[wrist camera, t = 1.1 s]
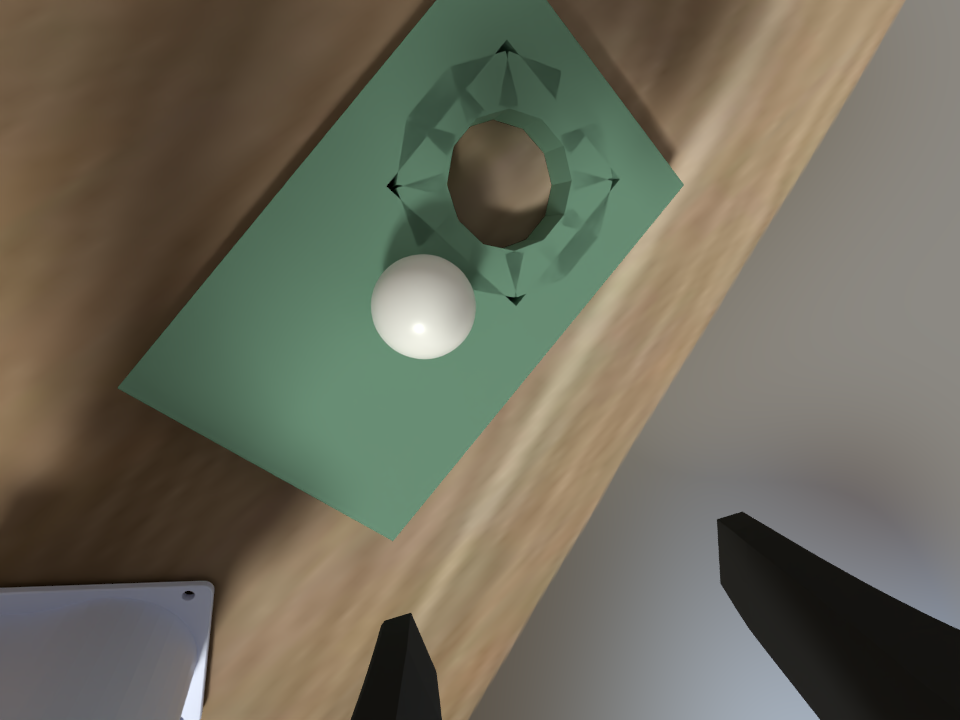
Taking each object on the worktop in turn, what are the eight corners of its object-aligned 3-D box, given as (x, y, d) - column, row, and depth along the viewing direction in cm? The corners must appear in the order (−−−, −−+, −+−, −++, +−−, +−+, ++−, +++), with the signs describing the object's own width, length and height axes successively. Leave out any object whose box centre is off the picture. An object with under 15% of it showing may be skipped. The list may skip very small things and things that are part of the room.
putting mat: (387, 517, 24) (392, 541, 22) (137, 373, 19) (117, 388, 17) (656, 188, 24) (684, 184, 23) (478, -41, 19) (494, -71, 18)
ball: (360, 340, 20) (368, 364, 16) (374, 243, 19) (386, 245, 15) (451, 352, 21) (478, 376, 17) (468, 262, 20) (500, 268, 17)
